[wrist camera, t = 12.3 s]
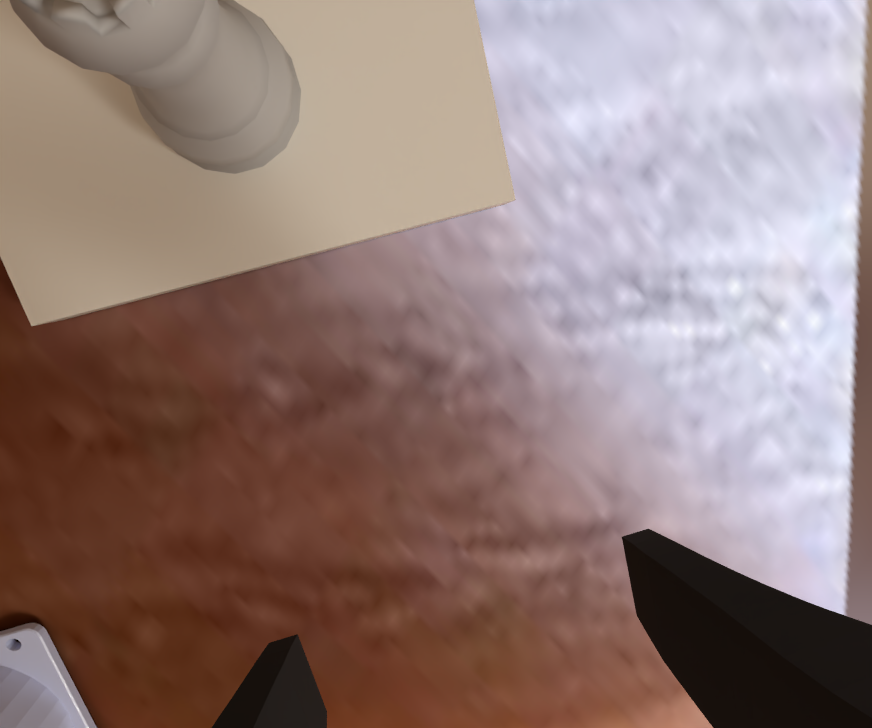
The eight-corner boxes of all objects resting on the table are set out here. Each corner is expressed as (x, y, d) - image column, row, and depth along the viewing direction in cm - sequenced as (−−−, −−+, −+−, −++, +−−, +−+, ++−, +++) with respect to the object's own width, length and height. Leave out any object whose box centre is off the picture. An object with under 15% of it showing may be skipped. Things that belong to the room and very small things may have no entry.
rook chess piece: (203, 201, 16) (26, 145, 8) (118, 57, 15) (-182, -174, 7) (330, 136, 16) (282, 16, 8) (255, -13, 15) (112, -323, 7)
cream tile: (61, 320, 17) (31, 326, 16) (-96, -39, 15) (-147, -71, 13) (504, 204, 18) (515, 199, 17) (427, -154, 16) (432, -197, 14)
